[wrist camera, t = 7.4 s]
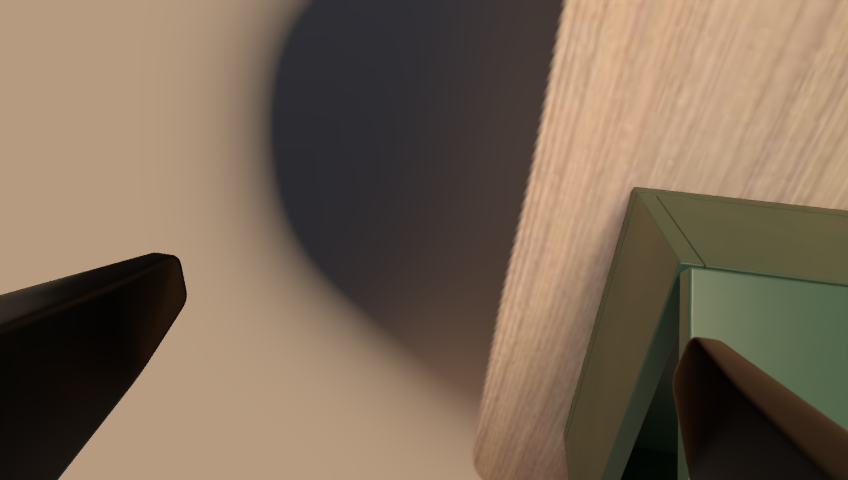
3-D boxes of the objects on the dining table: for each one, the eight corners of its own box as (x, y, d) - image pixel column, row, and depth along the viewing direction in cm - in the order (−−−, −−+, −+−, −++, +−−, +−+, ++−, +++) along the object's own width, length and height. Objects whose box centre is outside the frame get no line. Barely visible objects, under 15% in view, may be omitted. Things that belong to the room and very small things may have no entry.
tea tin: (767, 469, 25) (839, 603, 19) (563, 432, 26) (576, 549, 20) (920, 218, 18) (1097, 315, 12) (633, 186, 19) (680, 261, 14)
